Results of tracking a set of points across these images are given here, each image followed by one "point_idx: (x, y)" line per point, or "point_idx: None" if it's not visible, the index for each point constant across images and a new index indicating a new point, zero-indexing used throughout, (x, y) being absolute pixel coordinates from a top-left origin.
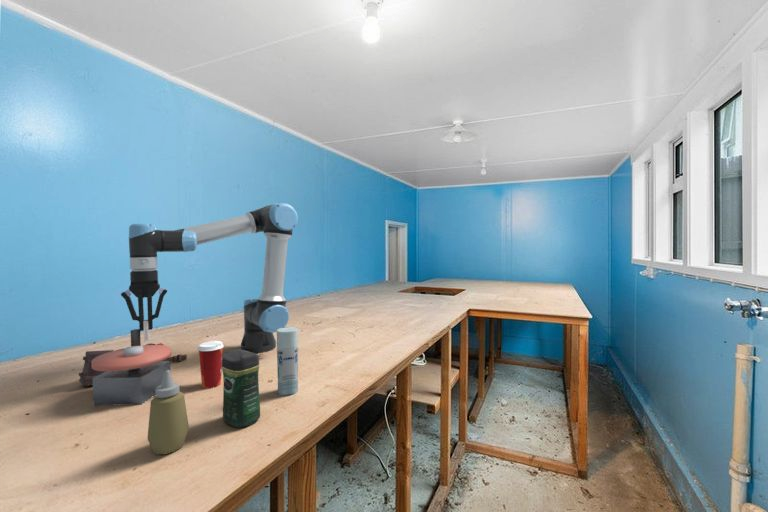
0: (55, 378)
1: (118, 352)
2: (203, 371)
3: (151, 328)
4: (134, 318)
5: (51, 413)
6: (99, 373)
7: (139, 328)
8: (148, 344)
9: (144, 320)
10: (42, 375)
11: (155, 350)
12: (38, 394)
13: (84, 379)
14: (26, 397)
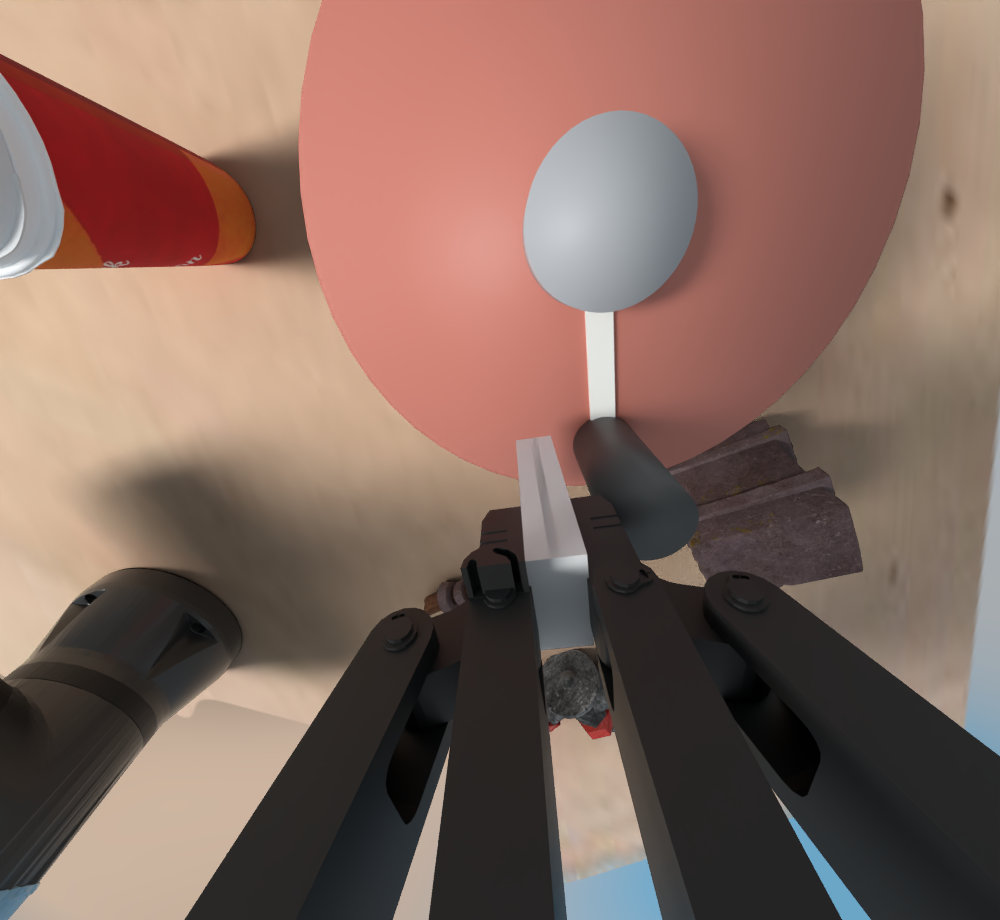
0: (844, 576)
1: (711, 361)
2: (151, 135)
3: (493, 516)
4: (746, 591)
5: None
6: (729, 461)
7: (615, 511)
8: (577, 711)
9: (582, 617)
10: (880, 619)
11: (441, 290)
12: (900, 433)
13: (781, 426)
14: (938, 418)
